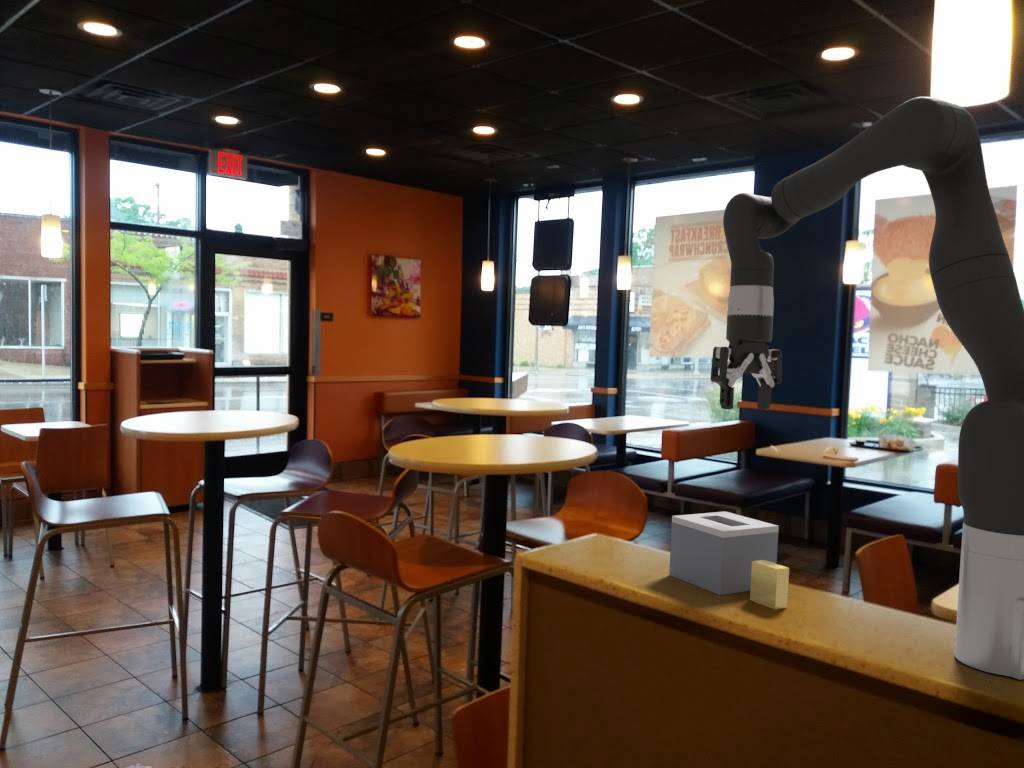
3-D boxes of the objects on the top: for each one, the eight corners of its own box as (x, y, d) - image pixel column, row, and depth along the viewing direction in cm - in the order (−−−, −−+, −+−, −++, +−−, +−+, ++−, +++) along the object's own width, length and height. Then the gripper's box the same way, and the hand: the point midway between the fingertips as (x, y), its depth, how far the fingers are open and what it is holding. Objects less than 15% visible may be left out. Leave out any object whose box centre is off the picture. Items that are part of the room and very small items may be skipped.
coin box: (775, 586, 132) (778, 525, 132) (720, 595, 127) (723, 531, 126) (722, 568, 143) (725, 511, 142) (669, 575, 137) (672, 515, 137)
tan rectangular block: (787, 607, 122) (789, 568, 122) (775, 609, 121) (777, 569, 120) (761, 598, 126) (763, 559, 126) (749, 600, 125) (751, 561, 125)
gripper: (735, 310, 132) (730, 411, 133) (796, 315, 139) (792, 410, 140) (703, 312, 139) (698, 407, 139) (763, 316, 146) (759, 407, 146)
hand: (745, 409), depth 139 cm, fingers open, 8 cm apart
